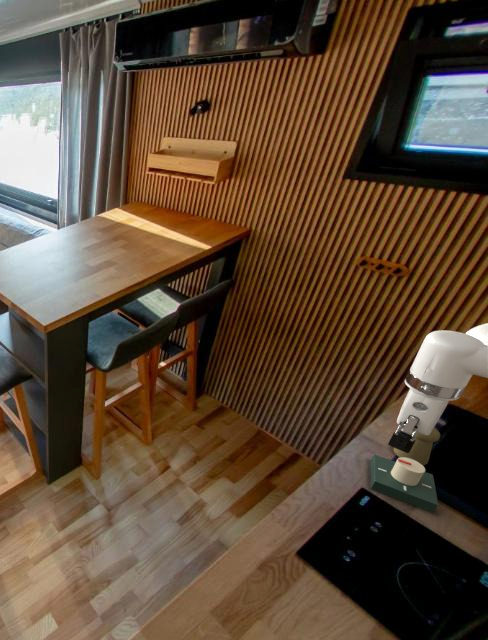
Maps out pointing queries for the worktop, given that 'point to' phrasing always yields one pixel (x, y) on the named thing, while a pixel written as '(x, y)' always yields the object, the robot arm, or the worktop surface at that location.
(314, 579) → the worktop surface
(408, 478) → the grip knob
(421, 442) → the cork
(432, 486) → the panel
